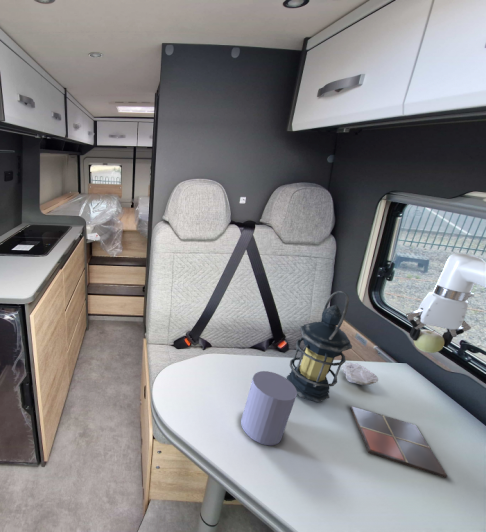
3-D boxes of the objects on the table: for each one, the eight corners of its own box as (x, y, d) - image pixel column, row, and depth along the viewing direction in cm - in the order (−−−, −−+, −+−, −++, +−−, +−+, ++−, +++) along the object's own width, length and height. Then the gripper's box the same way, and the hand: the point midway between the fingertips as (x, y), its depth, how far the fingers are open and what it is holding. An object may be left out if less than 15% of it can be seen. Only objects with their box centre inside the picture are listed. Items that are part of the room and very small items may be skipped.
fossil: (354, 383, 99) (342, 355, 107) (346, 392, 104) (334, 365, 111) (383, 385, 98) (369, 357, 106) (373, 394, 103) (360, 366, 110)
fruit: (444, 359, 98) (455, 337, 95) (416, 353, 100) (426, 332, 97) (430, 346, 105) (440, 326, 102) (405, 341, 107) (414, 321, 104)
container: (238, 435, 80) (251, 389, 75) (243, 408, 89) (254, 366, 84) (281, 453, 76) (297, 406, 71) (281, 423, 85) (296, 380, 80)
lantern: (280, 371, 106) (309, 279, 94) (323, 383, 103) (359, 288, 90) (285, 400, 94) (320, 297, 81) (334, 414, 90) (378, 309, 78)
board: (414, 427, 88) (415, 424, 87) (445, 478, 74) (447, 475, 73) (350, 408, 93) (351, 405, 92) (368, 453, 78) (369, 450, 78)
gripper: (478, 294, 96) (454, 342, 102) (411, 283, 101) (391, 329, 107) (495, 304, 89) (468, 355, 95) (422, 291, 95) (400, 340, 101)
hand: (428, 341), depth 101 cm, fingers closed on fruit, 7 cm apart
